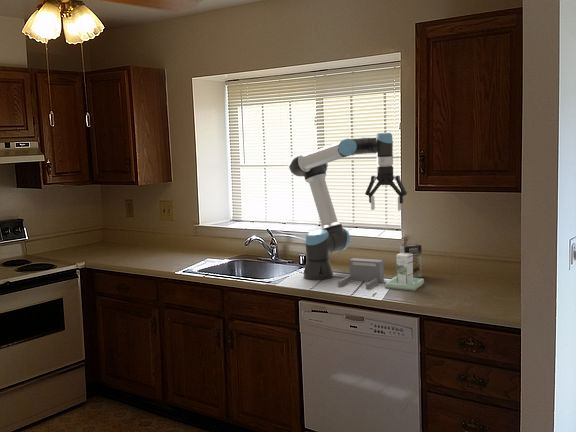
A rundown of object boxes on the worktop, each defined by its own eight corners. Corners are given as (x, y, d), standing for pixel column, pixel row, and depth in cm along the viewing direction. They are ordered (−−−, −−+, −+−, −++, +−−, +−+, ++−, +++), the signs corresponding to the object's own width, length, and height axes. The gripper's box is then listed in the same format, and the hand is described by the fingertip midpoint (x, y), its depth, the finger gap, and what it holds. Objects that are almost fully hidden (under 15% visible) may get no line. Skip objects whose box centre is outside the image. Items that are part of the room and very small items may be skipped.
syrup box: (413, 283, 285) (413, 253, 283) (407, 286, 281) (406, 255, 279) (403, 282, 289) (402, 252, 287) (396, 284, 284) (395, 254, 282)
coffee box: (405, 279, 298) (404, 246, 295) (399, 276, 304) (399, 244, 301) (422, 277, 300) (421, 245, 298) (416, 274, 306) (415, 242, 304)
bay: (337, 286, 289) (337, 265, 288) (353, 277, 305) (353, 258, 304) (369, 289, 281) (368, 268, 280) (383, 280, 297) (383, 260, 296)
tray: (385, 288, 282) (385, 283, 282) (395, 281, 294) (395, 276, 294) (414, 290, 275) (414, 285, 275) (423, 283, 287) (423, 278, 287)
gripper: (357, 166, 292) (359, 210, 295) (407, 165, 279) (408, 211, 282) (363, 165, 298) (365, 208, 301) (413, 164, 286) (413, 209, 289)
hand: (386, 210), depth 292 cm, fingers open, 13 cm apart
